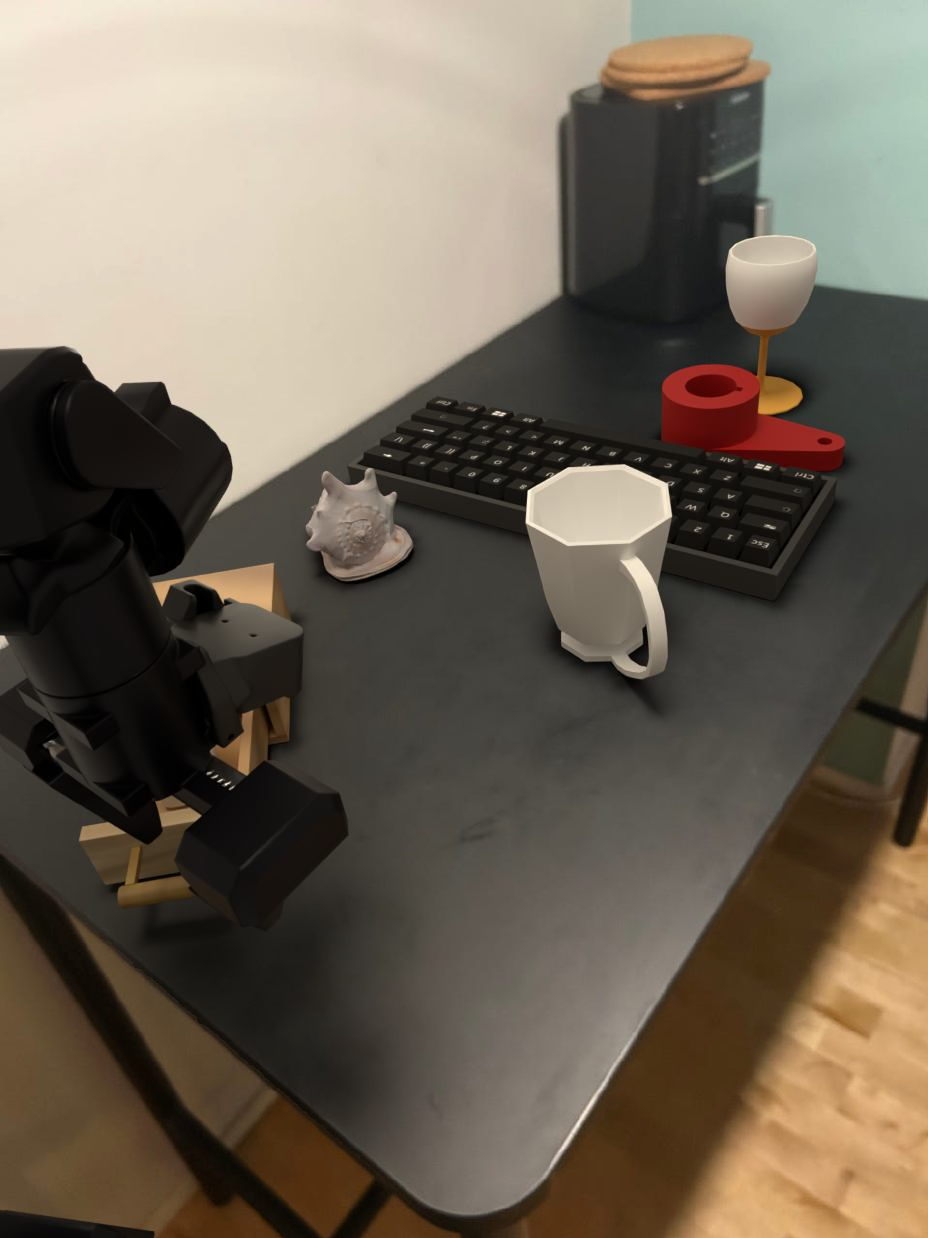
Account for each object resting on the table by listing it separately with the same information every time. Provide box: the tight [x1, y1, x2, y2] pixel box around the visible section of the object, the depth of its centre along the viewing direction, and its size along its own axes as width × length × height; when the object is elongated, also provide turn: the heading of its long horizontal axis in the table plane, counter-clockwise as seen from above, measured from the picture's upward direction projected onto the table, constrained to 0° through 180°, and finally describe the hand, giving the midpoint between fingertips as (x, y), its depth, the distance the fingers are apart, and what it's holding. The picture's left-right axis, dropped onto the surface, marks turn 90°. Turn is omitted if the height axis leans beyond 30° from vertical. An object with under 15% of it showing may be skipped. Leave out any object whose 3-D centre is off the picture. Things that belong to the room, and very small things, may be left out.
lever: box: [660, 363, 846, 472], centre depth 96 cm, size 18×9×7 cm, turn 62°
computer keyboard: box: [346, 395, 838, 602], centre depth 94 cm, size 45×16×4 cm, turn 57°
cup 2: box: [725, 234, 818, 416], centre depth 101 cm, size 9×9×16 cm
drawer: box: [78, 705, 269, 910], centre depth 66 cm, size 18×11×5 cm, turn 7°
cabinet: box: [152, 562, 293, 746], centre depth 77 cm, size 15×13×7 cm
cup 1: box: [526, 465, 672, 680], centre depth 73 cm, size 11×16×13 cm
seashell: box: [305, 468, 414, 582], centre depth 90 cm, size 10×12×9 cm
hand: (209, 878), depth 49 cm, fingers open, 9 cm apart
